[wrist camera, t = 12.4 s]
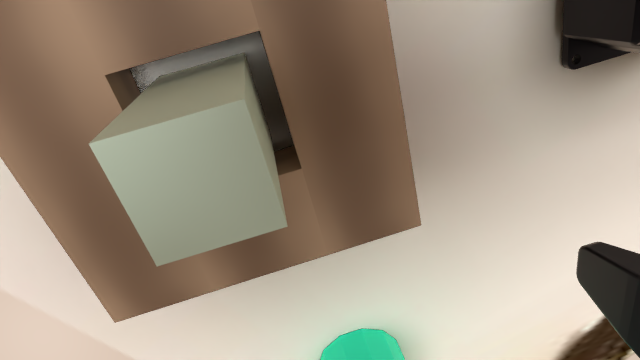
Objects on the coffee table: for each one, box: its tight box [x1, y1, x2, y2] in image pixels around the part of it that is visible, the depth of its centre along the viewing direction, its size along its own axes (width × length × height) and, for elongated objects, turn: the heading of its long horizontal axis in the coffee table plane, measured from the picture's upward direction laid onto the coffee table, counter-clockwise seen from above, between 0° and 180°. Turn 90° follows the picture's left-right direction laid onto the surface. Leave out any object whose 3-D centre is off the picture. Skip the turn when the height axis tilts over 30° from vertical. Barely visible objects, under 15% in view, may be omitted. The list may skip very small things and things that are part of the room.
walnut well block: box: [0, 0, 421, 323], centre depth 17 cm, size 16×16×3 cm
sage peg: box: [89, 53, 288, 266], centre depth 15 cm, size 4×4×9 cm
